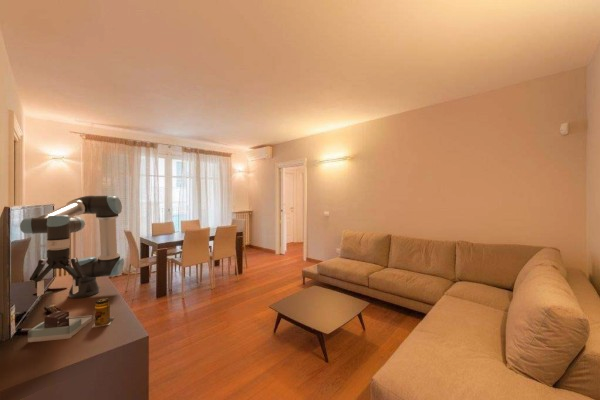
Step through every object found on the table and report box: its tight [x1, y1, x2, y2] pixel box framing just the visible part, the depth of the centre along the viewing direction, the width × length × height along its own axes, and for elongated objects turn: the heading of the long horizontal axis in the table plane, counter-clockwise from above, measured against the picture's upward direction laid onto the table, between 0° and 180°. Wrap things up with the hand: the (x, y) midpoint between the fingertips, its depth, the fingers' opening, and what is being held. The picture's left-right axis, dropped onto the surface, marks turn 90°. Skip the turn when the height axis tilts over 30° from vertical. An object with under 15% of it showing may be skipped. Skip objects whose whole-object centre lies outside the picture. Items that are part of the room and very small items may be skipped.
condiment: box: [91, 297, 115, 328], centre depth 124 cm, size 7×8×12 cm
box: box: [43, 310, 70, 328], centre depth 113 cm, size 6×6×7 cm
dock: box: [27, 315, 94, 343], centre depth 117 cm, size 17×16×5 cm
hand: (58, 294), depth 113 cm, fingers open, 13 cm apart
